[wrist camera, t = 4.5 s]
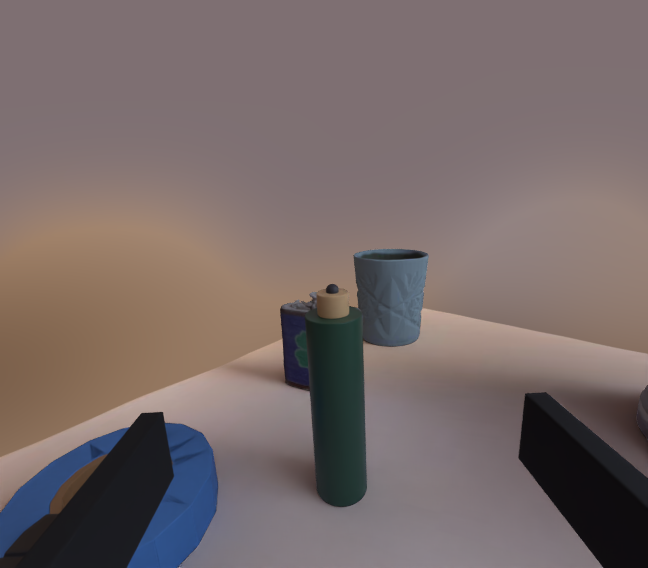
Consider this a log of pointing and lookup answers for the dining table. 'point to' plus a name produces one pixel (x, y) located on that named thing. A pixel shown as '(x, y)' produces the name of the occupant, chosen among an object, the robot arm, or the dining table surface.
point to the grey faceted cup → (390, 294)
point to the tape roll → (169, 519)
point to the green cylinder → (337, 396)
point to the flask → (296, 341)
